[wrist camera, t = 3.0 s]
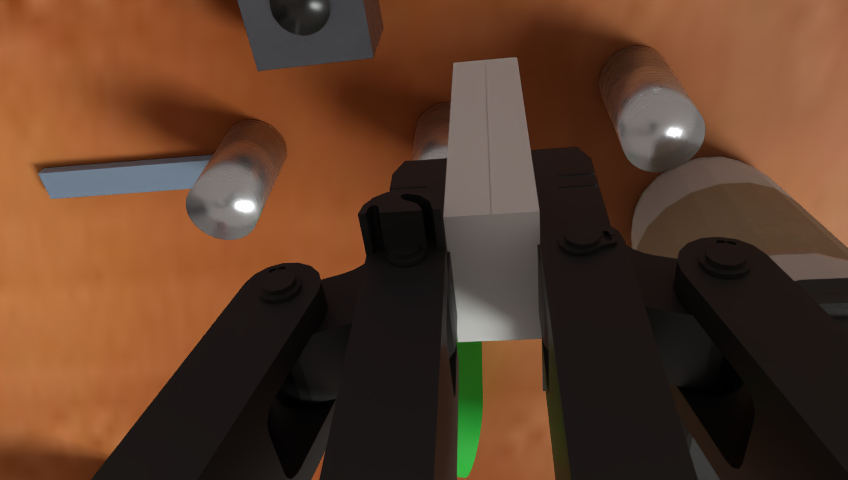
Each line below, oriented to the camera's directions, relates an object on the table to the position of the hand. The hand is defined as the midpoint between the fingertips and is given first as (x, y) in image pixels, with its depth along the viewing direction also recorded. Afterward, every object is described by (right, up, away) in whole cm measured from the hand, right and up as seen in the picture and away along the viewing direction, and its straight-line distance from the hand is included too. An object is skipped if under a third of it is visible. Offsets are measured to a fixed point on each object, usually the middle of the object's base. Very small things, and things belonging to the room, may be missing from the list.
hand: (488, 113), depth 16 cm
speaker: (-6, +9, +13) cm, 17 cm away
